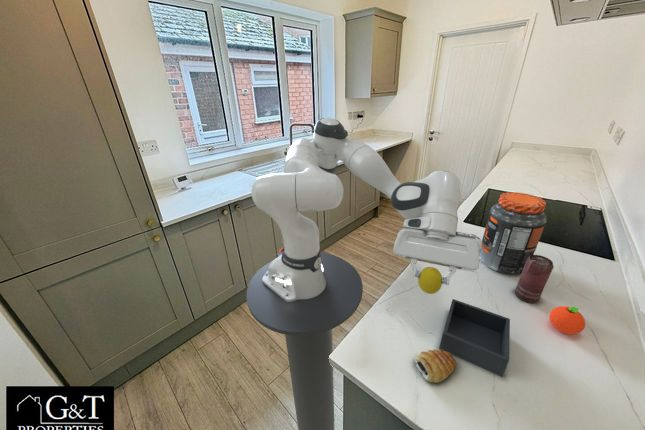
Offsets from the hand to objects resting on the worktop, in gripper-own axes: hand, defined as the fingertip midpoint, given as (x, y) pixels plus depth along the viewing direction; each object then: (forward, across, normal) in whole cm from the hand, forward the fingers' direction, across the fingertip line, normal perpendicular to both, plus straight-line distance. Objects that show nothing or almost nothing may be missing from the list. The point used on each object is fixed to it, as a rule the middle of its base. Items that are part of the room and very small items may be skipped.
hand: (430, 280), depth 65 cm
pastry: (+20, -4, -4) cm, 20 cm away
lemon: (+3, 0, -4) cm, 5 cm away
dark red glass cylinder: (-5, -29, -29) cm, 41 cm away
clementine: (+2, -35, -21) cm, 41 cm away
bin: (+11, -13, -12) cm, 21 cm away
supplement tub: (-17, -25, -41) cm, 51 cm away
